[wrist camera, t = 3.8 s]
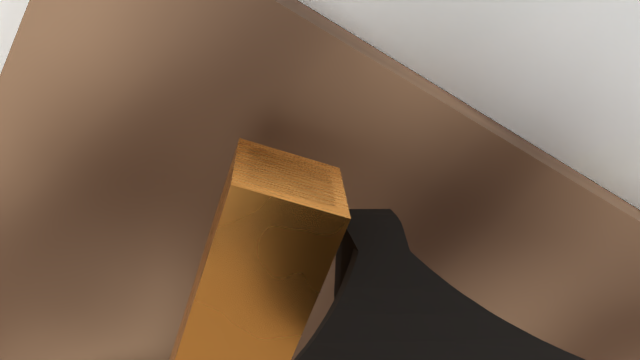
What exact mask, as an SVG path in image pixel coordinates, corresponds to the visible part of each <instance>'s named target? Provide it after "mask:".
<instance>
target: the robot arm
mask: <svg viewBox="0 0 640 360" xmlns="http://www.w3.org/2000/svg"><path fill="white" fill-rule="evenodd" d="M349 212H350V217H351V220H350V222H349V224H348V227H347V229H346V232H345V234H344V236H343V239H342V241H341V243H340V246H339V248H338V250H337V253H336V260H335V283H334V301H333V303H332V305H331V307H330V309H329V310H328V312H327V314H326V316H325V317H324V319H323V320H322V322H321V324H320V325H319V327H318V328H317V330H316V331H315V333H314V334H313V336H312V337H311V339H310V340H309V341H308V343H307V344H306V345H305V347H304V348H303V349H302V350H301V351H300V353H299V354H298V355H297V356H296V357H295V359H294V360H585V359H583V358H581V357H578V356H576V355H574V354H571V353H569V352H567V351H564V350H562V349H560V348H558V347H556V346H554V345H551V344H549V343H547V342H545V341H543V340H541V339H539V338H537V337H535V336H533V335H531V334H529V333H527V332H526V331H524V330H522V329H520V328H518V327H516V326H514V325H512V324H511V323H509V322H507V321H505V320H503V319H502V318H500V317H498V316H497V315H495V314H493V313H491V312H490V311H488V310H487V309H485V308H484V307H482V306H481V305H479V304H478V303H476V302H475V301H473V300H472V299H470V298H468V297H467V296H465V295H464V294H462V293H461V292H460V291H458V290H457V289H456V288H454V287H453V286H451V285H450V284H449V283H448V282H446V281H445V280H444V279H443V278H441V277H440V276H439V275H438V274H436V273H435V272H434V271H433V270H431V269H430V268H429V267H428V266H427V265H425V264H424V263H423V262H422V261H421V260H420V259H419V258H417V257H416V256H415V255H414V254H413V253H412V252H411V251H410V249H409V246H408V242H407V239H406V236H405V232H404V229H403V226H402V223H401V221H400V220H399V218H398V217H397V215H396V214H395V213H394V212H393V211H392V210H391V209H349Z"/></svg>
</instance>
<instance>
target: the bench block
mask: <svg viewBox="0 0 640 360" xmlns="http://www.w3.org/2000/svg"><path fill="white" fill-rule="evenodd" d="M239 138H241V139H245V140H248V141H251V142H255V143H258V144H261V145H265V146H268V147H271V148H274V149H278V150H281V151H284V152H288V153H291V154H294V155H298V156H301V157H304V158H308V159H311V160H314V161H318V162H321V163H324V164H328V165H331V166H334V167H338V168H340V172H341V176H342V181H343V185H344V190H345V194H346V199H347V203H348V208H349V209H391V210H392V211H393V212H394V213H395V214H396V215H397V217H398V218H399V220H400V221H401V223H402V226H403V229H404V232H405V236H406V239H407V242H408V246H409V249H410V251H411V252H412V253H413V254H414V255H415V256H416V257H417V258H419V259H420V260H421V261H422V262H423V263H424V264H425V265H427V266H428V267H429V268H430V269H431V270H433V271H434V272H435V273H436V274H438V275H439V276H440V277H441V278H443V279H444V280H445V281H446V282H448V283H449V284H450V285H451V286H453V287H454V288H456V289H457V290H458V291H460V292H461V293H462V294H464V295H465V296H467V297H468V298H470V299H472V300H473V301H475V302H476V303H478V304H479V305H481V306H482V307H484V308H485V309H487V310H488V311H490V312H491V313H493V314H495V315H497V316H498V317H500V318H502V319H503V320H505V321H507V322H509V323H511V324H512V325H514V326H516V327H518V328H520V329H522V330H524V331H526V332H527V333H529V334H531V335H533V336H535V337H537V338H539V339H541V340H543V341H545V342H547V343H549V344H551V345H554V346H556V347H558V348H560V349H562V350H564V351H567V352H569V353H571V354H574V355H576V356H578V357H581V358H583V359H585V360H640V210H639V209H637V208H635V207H634V206H632V205H631V204H629V203H627V202H626V201H624V200H622V199H621V198H619V197H617V196H616V195H614V194H613V193H611V192H609V191H608V190H606V189H604V188H603V187H601V186H600V185H598V184H596V183H595V182H593V181H591V180H590V179H588V178H586V177H585V176H583V175H582V174H580V173H578V172H577V171H575V170H573V169H572V168H570V167H569V166H567V165H565V164H564V163H562V162H560V161H559V160H557V159H555V158H554V157H552V156H551V155H549V154H547V153H546V152H544V151H542V150H541V149H539V148H537V147H536V146H534V145H533V144H531V143H529V142H528V141H526V140H524V139H523V138H521V137H520V136H518V135H516V134H515V133H513V132H511V131H510V130H508V129H506V128H505V127H503V126H502V125H500V124H498V123H497V122H495V121H493V120H492V119H490V118H489V117H487V116H485V115H484V114H482V113H480V112H479V111H477V110H475V109H474V108H472V107H471V106H469V105H467V104H466V103H464V102H462V101H461V100H459V99H457V98H456V97H454V96H453V95H451V94H449V93H448V92H446V91H444V90H443V89H441V88H440V87H438V86H436V85H435V84H433V83H431V82H430V81H428V80H426V79H425V78H423V77H422V76H420V75H418V74H417V73H415V72H413V71H412V70H410V69H409V68H407V67H405V66H404V65H402V64H400V63H399V62H397V61H395V60H394V59H392V58H391V57H389V56H387V55H386V54H384V53H382V52H381V51H379V50H377V49H376V48H374V47H373V46H371V45H369V44H368V43H366V42H364V41H363V40H361V39H360V38H358V37H356V36H355V35H353V34H351V33H350V32H348V31H346V30H345V29H343V28H342V27H340V26H338V25H337V24H335V23H333V22H332V21H330V20H329V19H327V18H325V17H324V16H322V15H320V14H319V13H317V12H315V11H314V10H312V9H311V8H309V7H307V6H306V5H304V4H302V3H301V2H299V1H297V0H30V1H29V3H28V6H27V8H26V11H25V13H24V16H23V18H22V21H21V24H20V26H19V29H18V31H17V34H16V36H15V39H14V41H13V44H12V46H11V49H10V52H9V54H8V57H7V59H6V62H5V64H4V67H3V69H2V72H1V75H0V360H169V359H170V356H171V353H172V350H173V346H174V343H175V340H176V337H177V334H178V331H179V327H180V324H181V321H182V318H183V315H184V312H185V308H186V305H187V302H188V299H189V296H190V293H191V289H192V286H193V283H194V280H195V277H196V274H197V270H198V267H199V264H200V261H201V258H202V255H203V251H204V248H205V245H206V242H207V239H208V236H209V232H210V229H211V226H212V223H213V220H214V217H215V213H216V210H217V207H218V204H219V201H220V198H221V194H222V191H223V188H224V185H225V182H226V179H227V175H228V172H229V169H230V166H231V163H232V160H233V156H234V153H235V150H236V147H237V144H238V141H239ZM335 260H336V255H335V257H334V260H333V262H332V264H331V267H330V269H329V272H328V274H327V276H326V279H325V281H324V283H323V286H322V288H321V290H320V293H319V295H318V297H317V300H316V302H315V305H314V307H313V309H312V312H311V314H310V316H309V319H308V321H307V323H306V326H305V328H304V330H303V333H302V335H301V337H300V340H299V342H298V345H297V347H296V349H295V352H294V354H293V356H292V359H291V360H294V359H295V357H296V356H297V355H298V354H299V353H300V351H301V350H302V349H303V348H304V347H305V345H306V344H307V343H308V341H309V340H310V339H311V337H312V336H313V334H314V333H315V331H316V330H317V328H318V327H319V325H320V324H321V322H322V320H323V319H324V317H325V316H326V314H327V312H328V310H329V309H330V307H331V305H332V303H333V301H334V283H335Z"/></svg>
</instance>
